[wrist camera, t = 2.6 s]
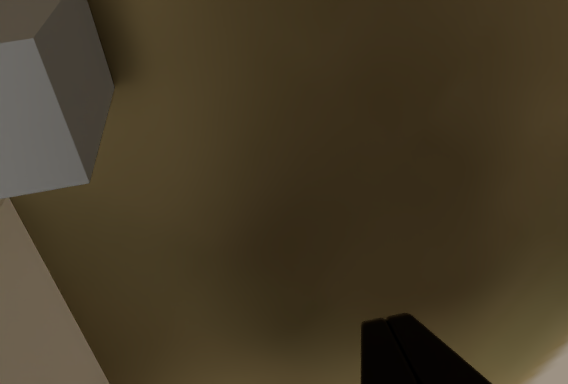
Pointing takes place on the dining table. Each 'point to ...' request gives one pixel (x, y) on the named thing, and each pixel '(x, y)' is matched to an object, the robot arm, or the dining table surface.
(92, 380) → the block
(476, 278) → the dining table surface
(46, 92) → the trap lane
